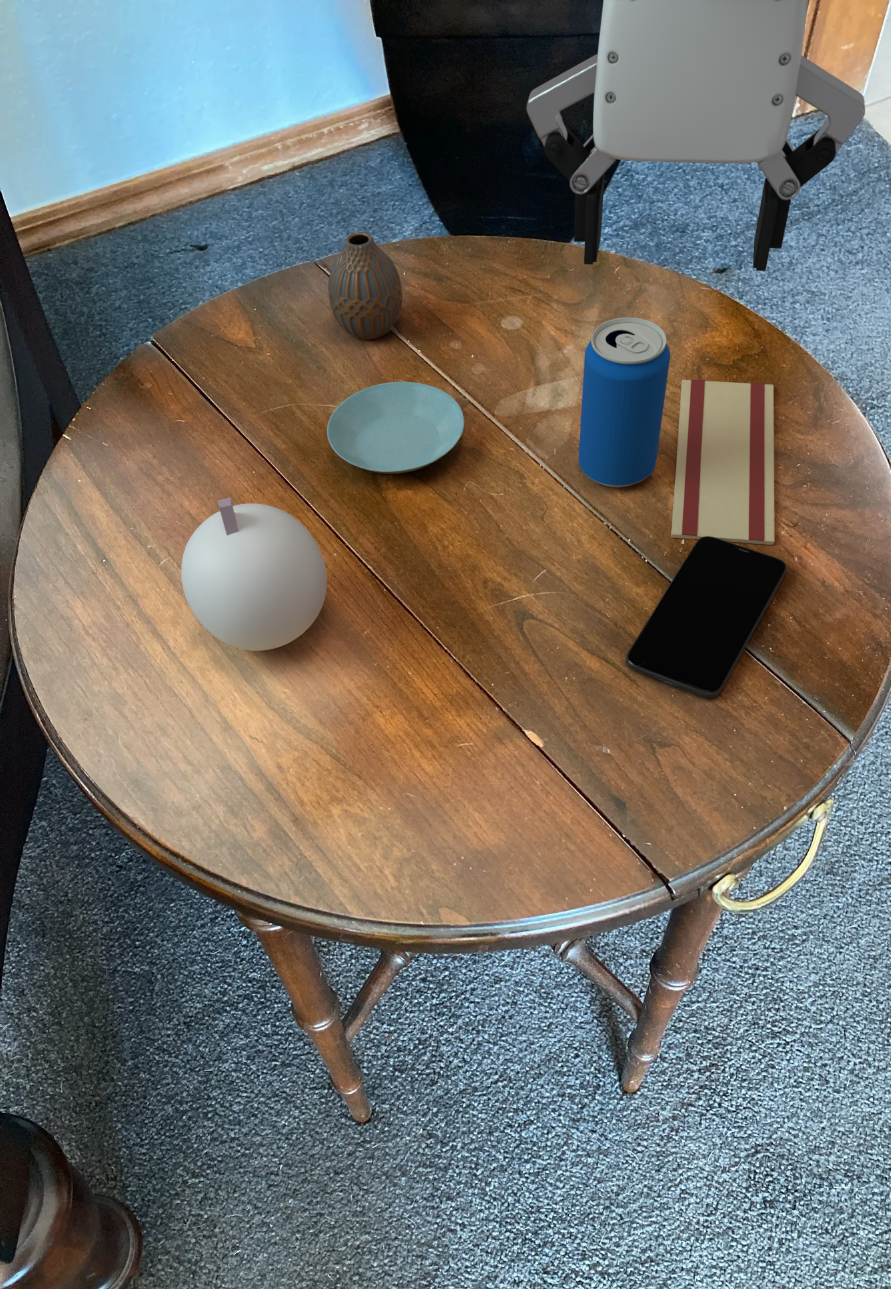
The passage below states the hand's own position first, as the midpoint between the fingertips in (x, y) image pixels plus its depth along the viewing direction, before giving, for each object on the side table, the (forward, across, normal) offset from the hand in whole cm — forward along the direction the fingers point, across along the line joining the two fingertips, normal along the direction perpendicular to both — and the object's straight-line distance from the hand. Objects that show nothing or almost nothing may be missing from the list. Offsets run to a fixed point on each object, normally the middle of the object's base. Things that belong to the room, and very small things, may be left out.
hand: (674, 255), depth 63 cm
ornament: (+26, +28, +9) cm, 39 cm away
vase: (+25, +28, -30) cm, 48 cm away
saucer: (+25, +22, -13) cm, 36 cm away
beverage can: (+26, +3, -12) cm, 29 cm away
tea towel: (+26, -6, -15) cm, 30 cm away
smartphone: (+26, -6, +4) cm, 27 cm away
